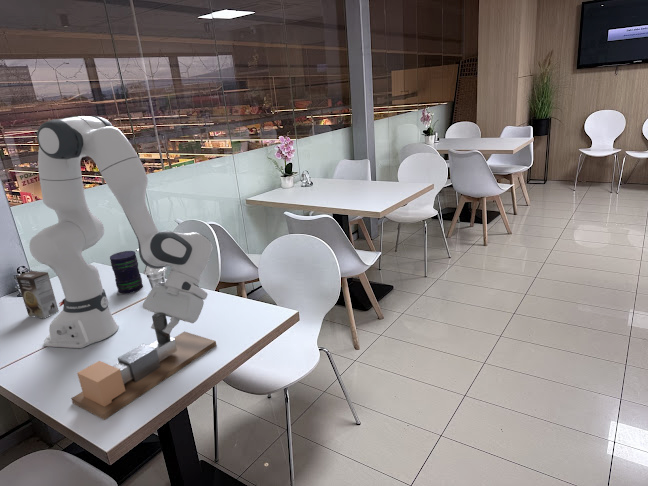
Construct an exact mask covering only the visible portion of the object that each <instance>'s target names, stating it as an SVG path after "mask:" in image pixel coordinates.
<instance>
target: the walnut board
mask: <svg viewBox="0 0 648 486" xmlns="http://www.w3.org/2000/svg"><path fill="white" fill-rule="evenodd" d="M173 338H174V339H175V343H176V348H177V351H176V352H175V353H173V354H172V355H170V356H168V357H167V358H165V359H163V360H162V361H160V366H161V367H160V368H158V369H157V370H155V371H153V372H152V373H150V374H149V375H147V376H146V377H144V378H142V379H141V380H139V381H138V382H136V383H135V382H133V381H131V380H130V381H128V382H126V383H125V384H124V387H125V392H123V393H122V394H120V395H118V396H117V397H115V398H114V399H112V402H111V403H110V404H108V405H106V406H105V407H104V406H102V405H100V404H98V403H96V402H94V401H92V400H90V399H88V398H86V397H84V395H83V391H81V392H79V393H78V394H76V395H74V396H72V397H71V398H70V399H71V401H72V404H74V405H75V406H77V407H79V408H81V409H83V410H85V411H86V412H88V413H91V414H92V415H94V416H96V417H98V418H100V419H102V420H104V421H105V420H107V419H108V418H110V417H111V416H113V415H114V414H116V413H117V412H118V411H120V410H121V409H123V408H125V407H127V405H129V404H130V403H132V402H133V401H135V400H137V399H138V398H139V397H142V396H143V395H145V393H147V392H149V391H150V390H152V389H154V387H156V386H157V385H159V384H160V383H162V382H164V381H166V380H168V378H170V377H171V376H173V375H174V374H176V373H178V372H179V371H180V370H182V369H183V368H185V367H186V366H188V365H190V364H191V363H192V362H193V361H195V360H197V359H198V358H200V357H201V356H203V355H204V354H206V353H207V352H208V351H210V350H212V349H213V348H215V347H216V346H217V341H216V340H213V339H212V338H208V337H205V336H201V335H197V334H194V333H191V332H187V331H183V332H181V333H180V334H178V335H176V336H174V337H173Z"/></svg>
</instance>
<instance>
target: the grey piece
mask: <svg viewBox="0 0 648 486" xmlns="http://www.w3.org/2000/svg"><path fill="white" fill-rule="evenodd" d="M151 318H152V324H154V328H155V330H154V331H155V337H156V341H154V342H152V343H150V344H149V345H148V346H151V347H154V348H156V349H157V353H158V358H159V362H160V361H162V360H163V359H165V358H167V357H168V356H170V355H172V354H173V353H175V352H176V351H177V348H176V343H175V339H174V337H171V333H170V334H167V333H165V332H163V329H164V326H167V325H168V324H169V323H168V320H167V316H166V314H165V313H162V312H160V313H156V314H154V313H153V314H152V316H151ZM112 366H113V367H116V368H118V369H120V372H121V375H122V379H123V383H124V384H125V383H126V382H128V381H130V380H131V379H133V375H132V371H131V367H130V365H129V364H127V363H124V362H122V361H121V362H117V363H115V364H114V365H112Z"/></svg>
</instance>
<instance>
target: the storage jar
mask: <svg viewBox="0 0 648 486" xmlns="http://www.w3.org/2000/svg"><path fill="white" fill-rule="evenodd" d="M109 260H110V266H111V269H112V271H113V273H114V278H115V286H116V289H117V293H118V294H121V295H129V294H133V293H137V292H138V291H140V290H142V289H143V287H144V285H143V279H142V276H141V273H140V269H139V262H138V258H137V253H136V250H135V251H134V250H124V251H120V252H116V253H113V254H112V255H110V256H109Z"/></svg>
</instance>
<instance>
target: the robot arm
mask: <svg viewBox="0 0 648 486" xmlns="http://www.w3.org/2000/svg"><path fill="white" fill-rule="evenodd" d="M36 140H37V141H36V142H37V143H38V146H39V147H38V155H37V159H38V160H37V165H38V166H37V167H38V168H37V169H38V177H39V184H40V190H41V198H42V202H43V204H44V205H45V206H46V207H47V208H49V209H51V210H53V211H54V212H55V214H56V216H57V223H55V224H51V225H50V226H48V227H45V228H43V229H42V230H40V231H39V232H37V233H35V235H33V237H31V239H30V240H29V245H28V246H29V247H28V248H29V251H30V254H31V256H32V257H33V258H34V260H36V261H37V262H39V263H40V264H42V265H45V266H48V267H49V268H50V269H51V270H52V271H53V272H54V273H55V274H56V276H57V278H58V280H59V282H60V285H61V286H60V287H61V289H62V291H63V295H64V298H63V299H62V300H61V301H60V302H59V303H58V305H59V306H58V308H60V307H62V306H63V307H62V310H61V311H59V312H58V313H59V314H57V316H55V317H54V319H53V320H52V321H51V323H50V324H49V330H48V331H49V334H48V335H47V336H46V338H45V339H44V340H43V346H44V347H51V348H52V347H53V348H55V347H56V348H71V349H73V348H74V349H83V348H85V347H88V346H89V345H91V344H95V343H97V342H100V341H102V340H105V339H108V338H109V337H111V336H112V335H114V334H115V333H116V332H117V331H118V330H119V325H118V323H117V322H116V321H115V319H114V317H113V315H112V313H111V311H110V307H109V302H108V296H107V294H106V290H105V289H104V288H103V284H102V280H101V276H100V273H99V269H98V268H97V267H96V266H95V265H94V264H93V265H92V264H91V263H90V264H89V263H87V262H86V260H85V259H84V256H83V252H84V251H86V250H88V249H90V248H92V247H94V246H96V244H98V242H99V241H100V240H101V239H103V237H104V234H105V227H104V224H103V222H102V221H101V220H100V219H99V218H98V217H97V216H95V215H94V214H93V213H92V212H91V210H90V208H89V205H88V204H87V201H86V196H85V189H84V182H83V175H82V168H81V167H82V166H81V161H82V158H86V157H89V158H91V160H93V162H94V164H95V165H96V167H97V169H98V171H99V173H100V175H101V177H102V178H103V180H104V181H105V184H106V185H107V186H108V189H109V190H110V191H111V193H112V194H113V196H114V197H115V199H116V200H117V202H118V204H119V205H120V207H121V209H122V210H123V213H124V214H125V217H126V218H127V220H128V223H129V225H130V227H131V229H132V230H133V232H134V234H135V237H136V239H137V243H138V249H139V251H138V255H139V258H140V260H141V262H142V263H143V264H144V265H145V266H146V265H147V266H148V267H150V268H154V269H160V268H163V267H166V268H167V266H168V267H170V268H171V269H170V271H169V274H168V276H167V278H166V279H165V283H164V282H160V283H158V284H156V285H155V286H154V287H153V288H151V290H150V291H149V292H148V294H147V295H146V297H145V300H144V301H143V303H142V308H143V310H146V311H148V312H149V313H153V315H154V314H156V313H160V312H162V313H165V314H166V317H168V318H170V319H169V320H170V322H169V323H167V324H168V325H167V326H164V329H163V332H165V333H167V334H170V335H171V333H172V330H173V329H174V328H175V327H177V325H178V324H179V322H180V321H182V322H186V323H189V324H194V323H196V322H197V321H198V319H199V318H200V315H201V313H202V310H203V307H204V305H205V304H204V300H206V299H207V297H208V292H206V291H205V289H203V288H202V287H200V286H199V283H201V282H200V281H201V278H202V277H201V276H202V274H203V273H204V271H205V270H206V268H207V266H208V264H209V261H210V259H211V256H212V252H213V244H212V242H211V240H210V239H209V238H208V237H206V236H205V235H204V234H202V233H199V232H196V231H193V232H175V231H171V230H160V231H159V230H158V228H157V226H156V224H155V222H154V220H153V217H152V215H151V213H150V212H149V210H148V207H147V204H146V203H147V202H146V192H147V188H148V187H147V186H148V182H149V181H148V177H147V174H146V170H145V167H144V164H143V162H142V161H141V159H140V157H139V156H138V154H137V151H136V150H135V148H134V147H133V145H132V144H131V142H130V141H129V140H128V138H127V137H126V136H125V134H124V133H123V132H122V131H121V130H120V129H119V128H117V127H115V126H113V124H112V123H111V122H110V120H107V119H106V118H104V117H100V116H96V115H90V116H87V115H86V116H85V115H81V116H80V115H79V116H77V115H76V116H70V117H65V118H59V119H57V118H54V119H51V120H47V121H45V122H43V123H41V124H40V125H39V127H38V129H37V131H36ZM150 329H151V330H154V331H155V328H154V324H153V323H152V324H151V326H150Z"/></svg>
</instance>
